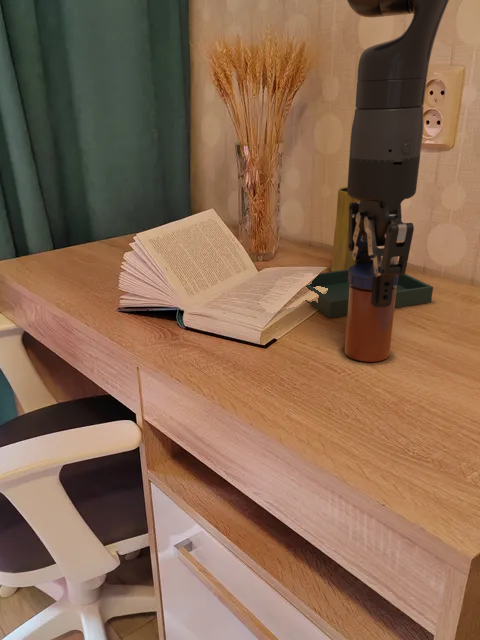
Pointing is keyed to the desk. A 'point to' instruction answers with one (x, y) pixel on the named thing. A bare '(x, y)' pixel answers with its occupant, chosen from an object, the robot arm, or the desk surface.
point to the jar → (368, 326)
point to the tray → (338, 292)
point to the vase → (342, 233)
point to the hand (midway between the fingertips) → (371, 296)
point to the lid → (364, 275)
